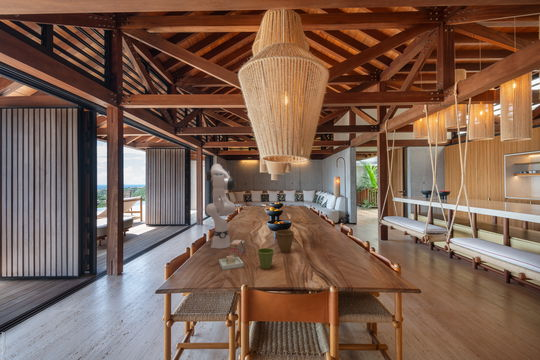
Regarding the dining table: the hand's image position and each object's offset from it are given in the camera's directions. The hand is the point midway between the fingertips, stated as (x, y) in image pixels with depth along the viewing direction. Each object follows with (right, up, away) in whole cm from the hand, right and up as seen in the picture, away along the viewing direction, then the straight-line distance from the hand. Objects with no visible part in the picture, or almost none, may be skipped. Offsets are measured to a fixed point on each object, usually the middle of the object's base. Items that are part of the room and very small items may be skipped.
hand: (219, 213), depth 177 cm
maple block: (+11, -33, -12) cm, 37 cm away
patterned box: (+13, -34, +9) cm, 38 cm away
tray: (+11, -34, -12) cm, 38 cm away
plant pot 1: (+35, -34, -16) cm, 51 cm away
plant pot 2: (+50, -34, +19) cm, 63 cm away
